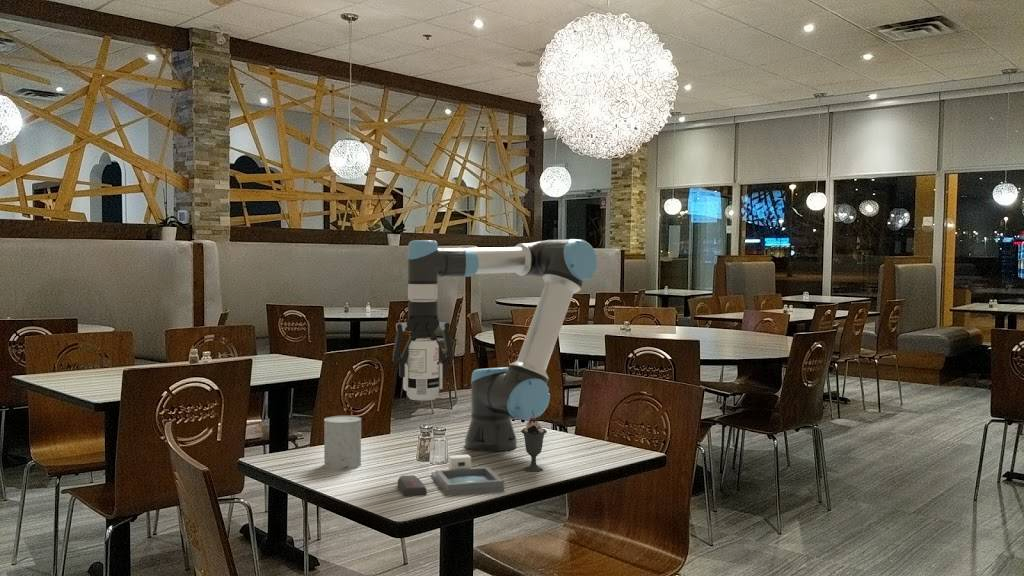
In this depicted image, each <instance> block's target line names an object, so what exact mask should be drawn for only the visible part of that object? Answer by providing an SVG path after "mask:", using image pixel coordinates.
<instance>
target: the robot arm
mask: <svg viewBox="0 0 1024 576" xmlns="http://www.w3.org/2000/svg"><path fill="white" fill-rule="evenodd" d="M406 259H407V283H408V284H407V298H408V300H410V301H408V303H407V320H406V322H402V323H399V322H397V323H395V330H396V334H395V339H394V345H393V349H392V351H393V352H392V357H391V360H392V361H391V362H393V363H395V364H398V374H399V377H400V378H403V379H402V380H403V381H402V384H403V387H402V389H403V390H404V391H405V392H407V391H408V365H407V358H408V355H409V345H410V343H411V341H415V340H416V339H418V338H428V339H431V340H432V341H434V340H436V341H437V343H438V345H439V390H443V376H447V363H448V362H450V361H453V360H454V353H453V348H452V342H451V338H450V332H449V331H450V325H451V324H450V323H449V322H446V321H444V322H443V321H440V320H439V318H438V315H439V313H438V306H439V305H438V304H439V303H438V302H437V301H436V300H438V278H466V277H467V278H468V277H473V276H475V275H483V274H484V275H485V274H487V275H490V274H513V273H514V274H516V275H518V276H522V277H524V276H525V277H526V276H527V277H528V276H529V277H538V278H542V279H543V282H544V287H543V290H542V292H541V295H540V296H539V300H538V302H537V306H536V308H535V310H534V314H533V317H532V319H531V322H530V324H529V327H528V329H527V332H526V335H525V338H524V341H523V344H522V346H521V349H520V351H519V355H518V357H517V360H515V361H514V362H512V363H510V364H509V366H508V367H507V366H504V367H503V366H502V367H501V366H500V367H489V368H477V369H474V370H473V372H472V373H471V380H470V381H471V382H470V385H471V386H470V387H471V389H470V390H471V391H470V392H471V395H470V396H471V397H470V398H471V401H470V402H471V403H470V404H471V405H470V406H471V407H470V409H471V410H470V411H471V414H470V417H471V419H470V423H469V426H468V427H467V428H468V429H467V432H466V434H465V439H464V448H466V449H469V450H472V451H476V450H477V452H488V453H489V452H490V453H491V452H492V453H493V452H504V451H505V452H506V451H510V449H511V450H513V449H516V448H517V445H518V443H517V440H518V439H517V436H516V435H517V434H516V432H515V429H514V425H513V423H512V418H514V419H516V420H524V421H525V420H526V421H530V418H532V416H533V418H534V416H535V419H536V418H538V417H540V416H541V415H542V414H544V412H546V409H547V408H548V407H549V404H550V401H551V400H550V399H551V393H549V391H550V388H549V386H548V381H549V376H548V373H547V368H548V365H549V363H550V359H551V358H552V357H551V356H552V354H553V351H554V349H555V346H556V343H557V340H558V337H559V334H560V332H561V329H562V326H563V323H564V321H565V319H566V316H567V312H568V310H569V307H570V304H571V301H572V299H573V295H574V294H576V293H578V292H580V291H581V290H582V286H583V283H584V281H587V280H589V279H590V278H591V279H592V277H593V276H594V275H595V273H596V271H597V267H598V258H597V255H596V251H595V249H594V248H593V246H592V245H591V244H590V243H589V242H587V241H586V240H585V239H577V238H569V239H547V240H541V241H540V240H539V241H534V242H527V243H517V244H516V245H515V246H507V247H506V246H504V247H502V246H500V247H498V246H497V247H495V246H494V247H453V248H451V247H450V248H448V247H446V248H441V247H439V246H438V242H437V241H436V240H430V239H429V240H428V239H427V240H426V239H421V240H419V239H417V240H414V239H413V240H411V241H410V242H408V247H407V257H406ZM438 327H439V328H440V330H441V331H442V338H443V343H444V344H443V345H444V349H445V354H446V356H445V354H444V351H443V349H442V347H441V344H440V343H439V339H438V338H437V335H436V330H437V329H438ZM406 329H409V331H410V334H409V336H408V339H407V342H406V344H405V347H404V349H403V351H402V353H401V347H402V340H403V334H404V332H405V331H406ZM400 353H401V354H400ZM532 411H533V413H534V414H533V413H532ZM515 447H516V448H515Z"/></svg>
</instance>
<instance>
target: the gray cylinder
mask: <svg viewBox="0 0 1024 576" xmlns="http://www.w3.org/2000/svg"><path fill="white" fill-rule="evenodd" d="M323 421H324V422H323V423H324V427H323V428H324V431H323V432H324V435H323V436H324V437H323V438H324V440H323V441H324V444H323V445H324V450H323V451H324V458H323V459H324V465H323V467H324V468H325V469H328V470H336V471H337V470H339V471H341V470H353V469H357V468H359V467H361V466H362V417H361V416H356V415H335V416H329V417H325V418H324V419H323Z"/></svg>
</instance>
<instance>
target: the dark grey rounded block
mask: <svg viewBox="0 0 1024 576" xmlns="http://www.w3.org/2000/svg"><path fill="white" fill-rule="evenodd" d="M397 488H398V489H399V491H400V492H401V494H402V495H403V497H415V496H426V495H427V490H428V489H427V487H426V486H425V485H424V483H423V482H422V481H421V479H420V478H419V477H417V476H416V475H413V474H412V475H401V476H399V477H398V479H397Z"/></svg>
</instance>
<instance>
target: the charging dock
mask: <svg viewBox="0 0 1024 576" xmlns="http://www.w3.org/2000/svg"><path fill="white" fill-rule="evenodd" d="M431 477H432V478H433V480H434V481H435V483H436V484H437V485H438V486H439V487H440V488H441V489H442V490H444V491H443V492H444V493H445V494H446V496H458V495H470V494H484V493H486V494H487V493H497V492H498V493H499V492H505V487H504V482H505V481H504V480H503V479H502V478H501V477H500V476H499V475H498V474H497V473H496V472H494V470H493V469H492V468H490V467H489V466H484V467H483V466H482V467H481V466H480V467H472V456H470V455H469V454H457V455H449V456H448V469H440V470H439V469H436V470H435V471H431Z"/></svg>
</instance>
